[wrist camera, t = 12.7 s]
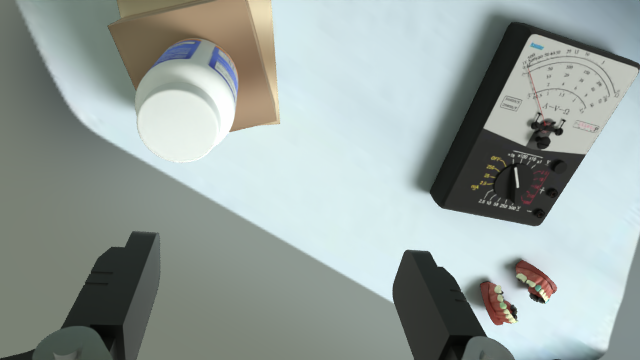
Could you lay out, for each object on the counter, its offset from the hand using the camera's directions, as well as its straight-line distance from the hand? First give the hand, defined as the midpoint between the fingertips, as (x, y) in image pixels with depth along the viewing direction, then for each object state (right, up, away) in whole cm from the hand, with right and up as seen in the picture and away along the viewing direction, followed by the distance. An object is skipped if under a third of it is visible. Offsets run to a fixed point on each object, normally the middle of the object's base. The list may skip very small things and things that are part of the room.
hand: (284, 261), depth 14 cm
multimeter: (+22, +8, +31) cm, 39 cm away
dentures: (+27, -11, +42) cm, 51 cm away
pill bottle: (-7, +10, +16) cm, 20 cm away
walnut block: (-8, +12, +19) cm, 24 cm away
